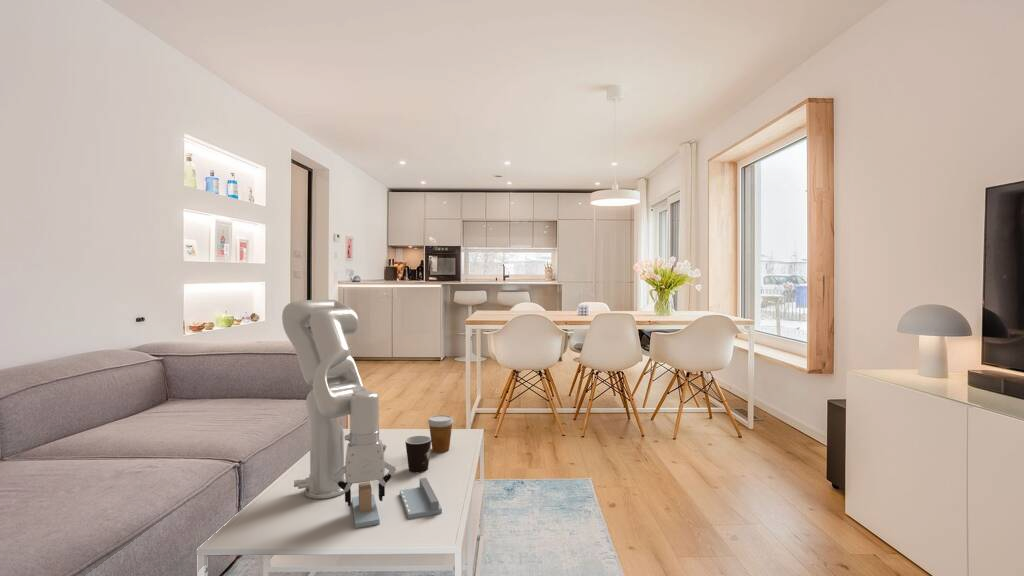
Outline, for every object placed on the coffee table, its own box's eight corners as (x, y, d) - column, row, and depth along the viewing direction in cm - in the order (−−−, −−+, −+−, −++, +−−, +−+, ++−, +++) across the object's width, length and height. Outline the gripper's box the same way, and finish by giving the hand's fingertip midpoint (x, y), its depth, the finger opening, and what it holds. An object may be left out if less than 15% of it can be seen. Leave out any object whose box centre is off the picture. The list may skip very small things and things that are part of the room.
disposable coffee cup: (458, 448, 182) (458, 416, 182) (442, 456, 174) (442, 423, 174) (438, 444, 187) (438, 413, 187) (422, 451, 179) (422, 419, 179)
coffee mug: (417, 476, 156) (417, 445, 156) (400, 470, 161) (399, 440, 161) (443, 465, 165) (443, 436, 165) (425, 460, 170) (425, 431, 170)
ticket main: (408, 519, 127) (408, 506, 127) (399, 493, 143) (399, 481, 143) (442, 513, 130) (442, 500, 130) (429, 488, 146) (429, 477, 146)
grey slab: (355, 528, 123) (355, 500, 123) (351, 501, 138) (351, 476, 137) (379, 523, 125) (379, 496, 125) (373, 498, 140) (373, 473, 140)
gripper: (330, 445, 124) (331, 513, 124) (399, 437, 131) (399, 502, 131) (330, 437, 131) (330, 501, 131) (395, 430, 138) (395, 491, 138)
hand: (365, 501), depth 131 cm, fingers open, 7 cm apart
